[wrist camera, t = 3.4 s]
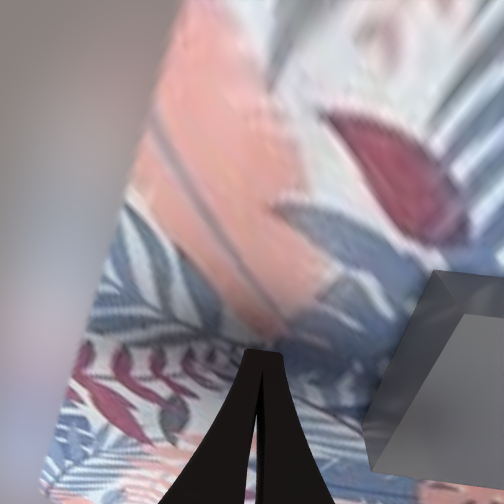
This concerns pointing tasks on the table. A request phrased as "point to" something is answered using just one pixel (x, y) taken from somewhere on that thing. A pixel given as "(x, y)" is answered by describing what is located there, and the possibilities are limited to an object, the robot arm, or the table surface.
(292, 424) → the robot arm
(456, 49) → the table surface
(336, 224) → the table surface
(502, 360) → the slate tile
